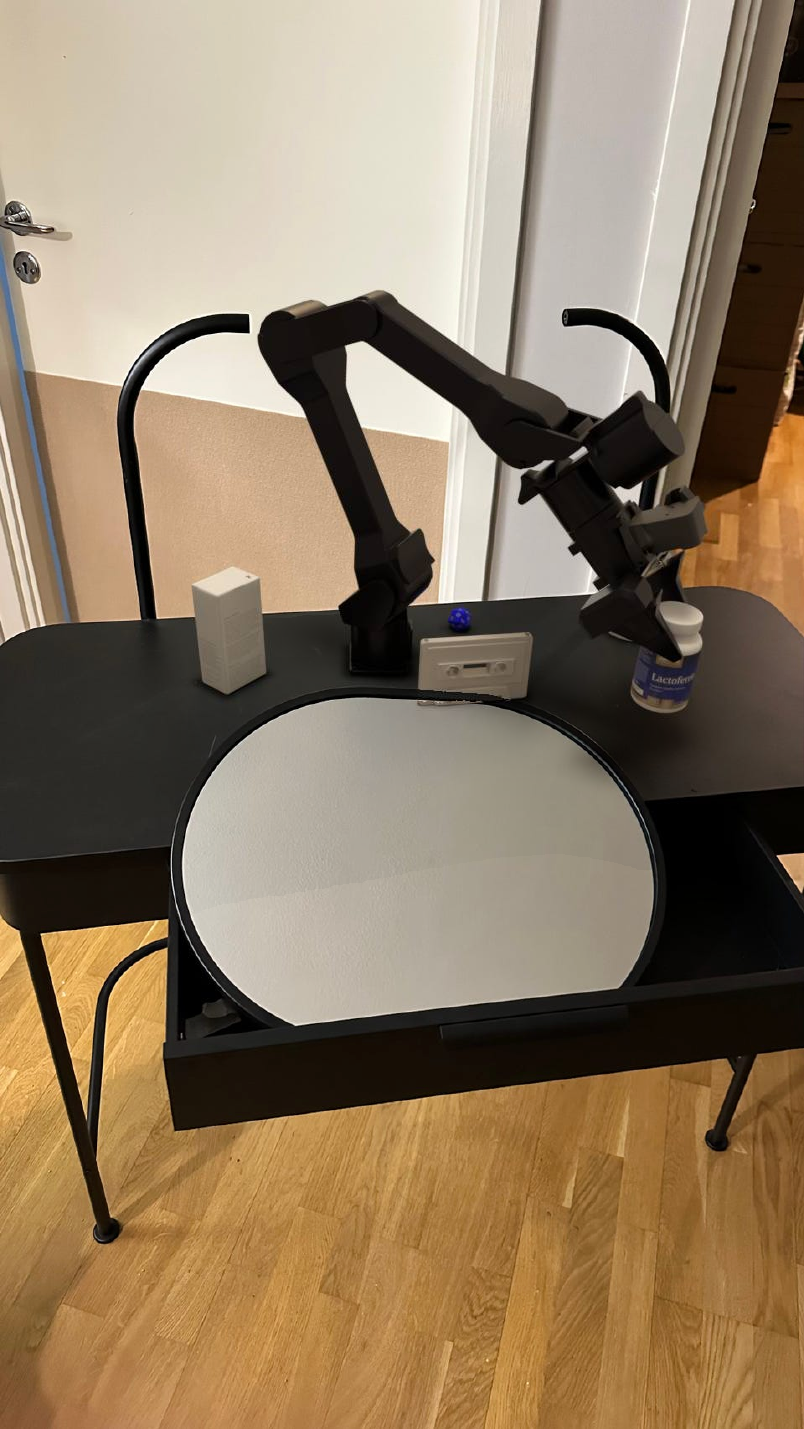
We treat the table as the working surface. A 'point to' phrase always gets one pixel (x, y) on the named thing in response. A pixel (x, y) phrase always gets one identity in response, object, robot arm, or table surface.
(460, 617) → the die
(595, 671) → the table surface
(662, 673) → the pill bottle
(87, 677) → the table surface
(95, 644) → the table surface
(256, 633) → the cosmetic box
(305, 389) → the robot arm
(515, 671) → the cassette
